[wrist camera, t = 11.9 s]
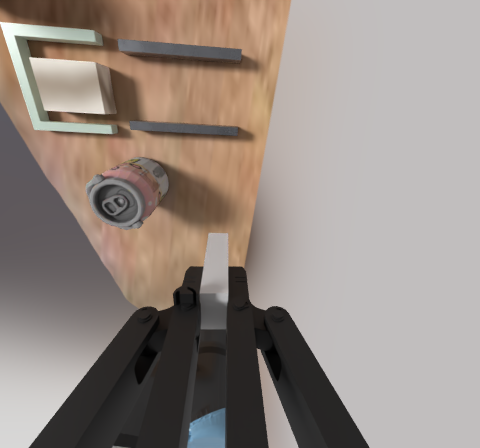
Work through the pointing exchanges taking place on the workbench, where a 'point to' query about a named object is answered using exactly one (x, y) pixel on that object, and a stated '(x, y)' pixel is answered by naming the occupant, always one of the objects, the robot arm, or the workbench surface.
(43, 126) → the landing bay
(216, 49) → the chute
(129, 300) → the workbench surface
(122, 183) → the beverage can
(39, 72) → the block
